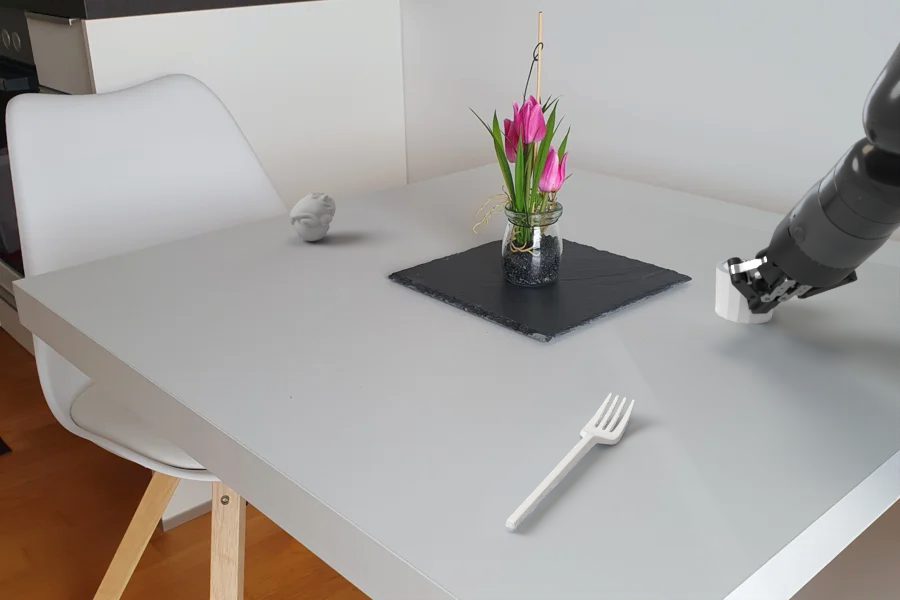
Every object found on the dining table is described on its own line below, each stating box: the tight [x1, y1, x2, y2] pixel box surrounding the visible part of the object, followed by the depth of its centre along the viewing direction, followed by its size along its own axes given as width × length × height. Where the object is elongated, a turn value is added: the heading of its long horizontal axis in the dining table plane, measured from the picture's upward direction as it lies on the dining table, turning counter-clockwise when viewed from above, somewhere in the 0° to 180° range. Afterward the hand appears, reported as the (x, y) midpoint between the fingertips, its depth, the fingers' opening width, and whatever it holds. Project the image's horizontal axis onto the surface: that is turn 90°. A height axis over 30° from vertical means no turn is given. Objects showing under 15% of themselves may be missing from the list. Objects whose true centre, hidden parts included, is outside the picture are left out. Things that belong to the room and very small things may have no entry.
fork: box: [505, 392, 636, 530], centre depth 67 cm, size 3×20×2 cm, turn 146°
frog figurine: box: [289, 190, 337, 242], centre depth 120 cm, size 6×7×7 cm
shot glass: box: [714, 258, 775, 325], centre depth 91 cm, size 7×7×7 cm
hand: (756, 305), depth 88 cm, fingers closed
